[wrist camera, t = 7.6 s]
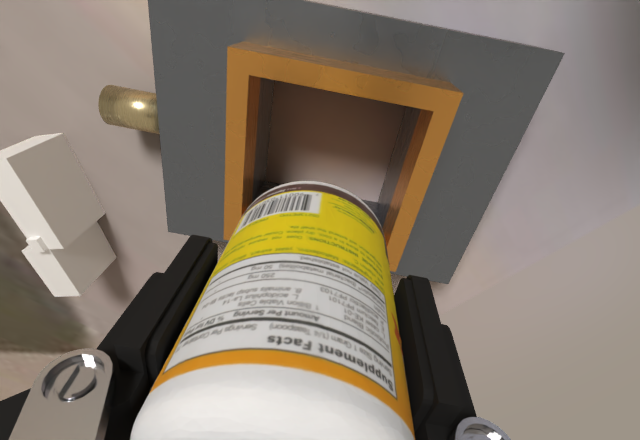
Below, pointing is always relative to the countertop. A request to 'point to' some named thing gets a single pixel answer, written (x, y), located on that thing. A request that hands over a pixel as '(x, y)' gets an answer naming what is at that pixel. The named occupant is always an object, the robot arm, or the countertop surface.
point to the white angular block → (55, 213)
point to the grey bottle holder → (343, 77)
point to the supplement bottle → (289, 332)
